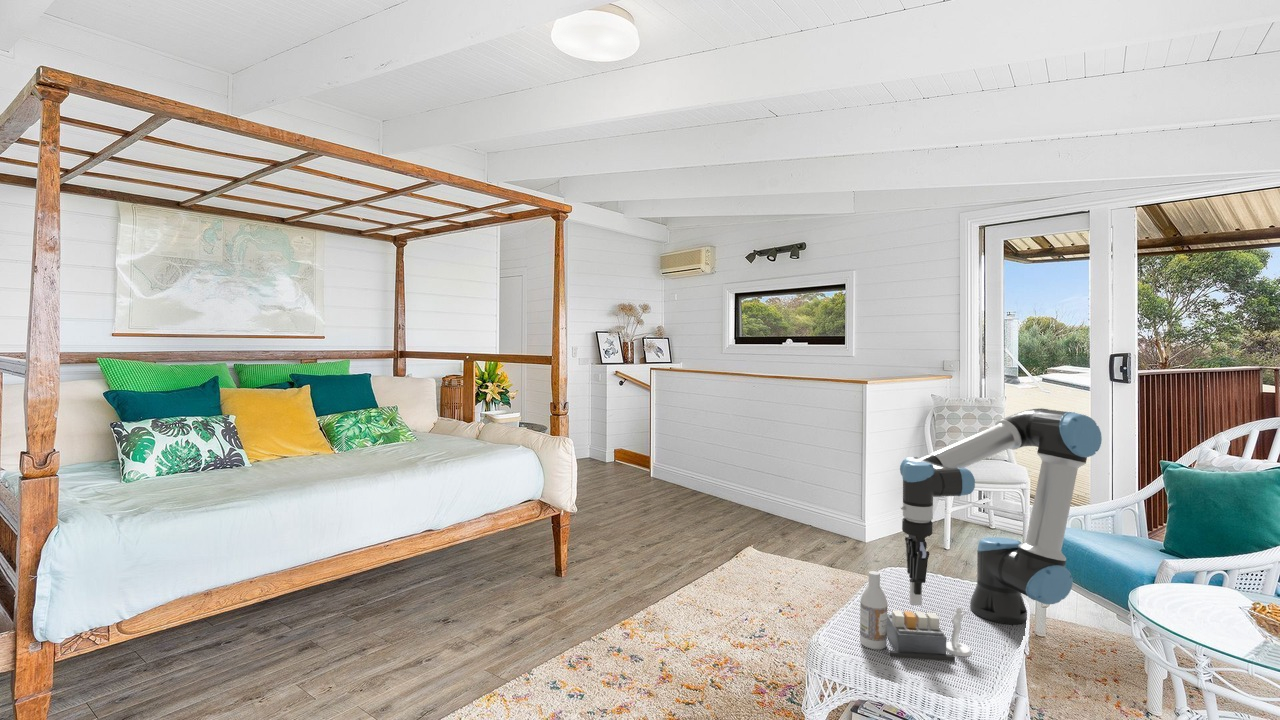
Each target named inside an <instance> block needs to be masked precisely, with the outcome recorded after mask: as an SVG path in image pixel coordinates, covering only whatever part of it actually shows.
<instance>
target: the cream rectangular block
mask: <svg viewBox="0 0 1280 720" xmlns="http://www.w3.org/2000/svg"><path fill="white" fill-rule="evenodd" d="M925 615H926V617H927V618H928V622H927V625H928V626H929V628H930V629H938V630H939V628H940V618H939V616H938V615H937V614H936V612H926V614H925Z"/></svg>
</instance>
